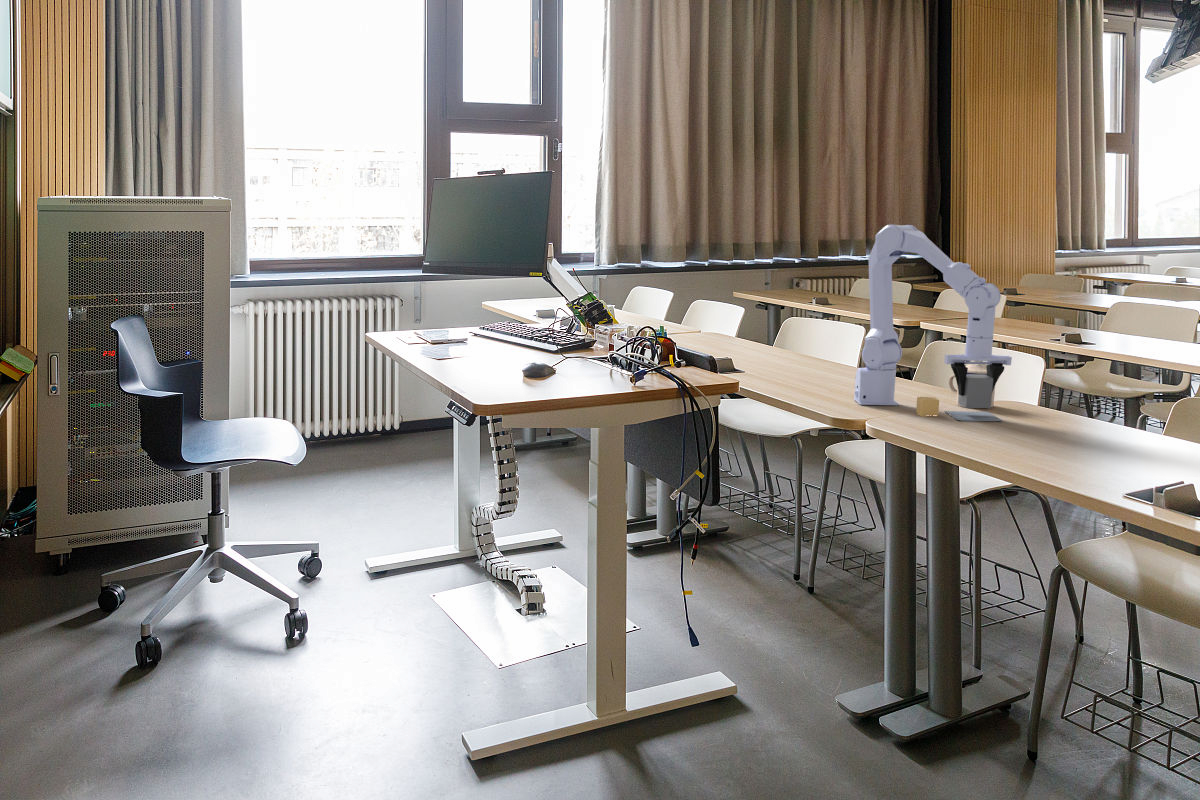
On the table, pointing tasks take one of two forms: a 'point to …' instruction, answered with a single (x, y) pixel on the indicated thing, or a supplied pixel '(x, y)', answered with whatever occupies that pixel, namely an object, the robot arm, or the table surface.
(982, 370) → the teacup with lid
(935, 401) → the ochre cube
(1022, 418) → the table surface
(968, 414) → the slate mat
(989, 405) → the blue-gray cube on pad
